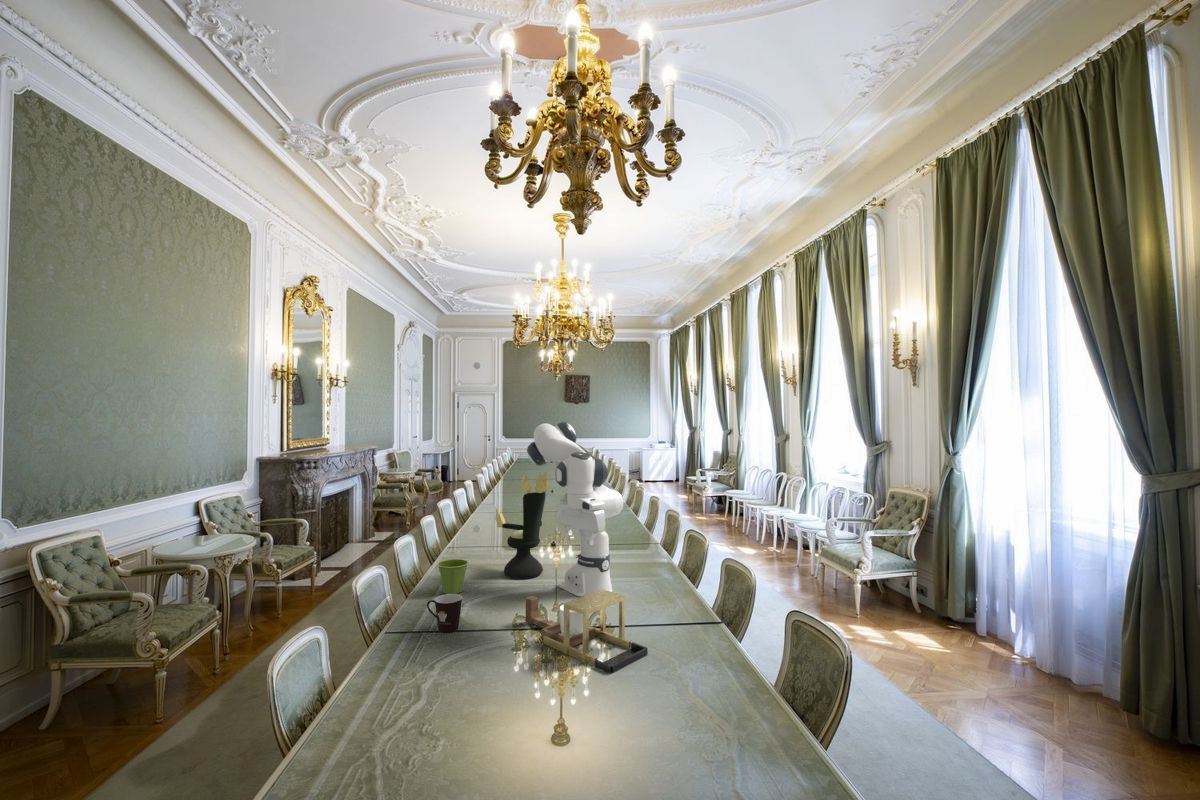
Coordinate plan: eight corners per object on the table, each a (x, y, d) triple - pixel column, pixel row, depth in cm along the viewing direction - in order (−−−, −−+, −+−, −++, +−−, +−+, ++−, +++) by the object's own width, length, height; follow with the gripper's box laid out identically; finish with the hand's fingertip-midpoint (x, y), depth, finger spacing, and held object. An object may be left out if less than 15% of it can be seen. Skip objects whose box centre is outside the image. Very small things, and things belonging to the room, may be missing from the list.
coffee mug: (467, 629, 181) (467, 598, 181) (443, 637, 175) (443, 605, 175) (447, 619, 189) (447, 590, 189) (424, 627, 183) (424, 596, 183)
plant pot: (473, 593, 215) (473, 564, 215) (442, 599, 209) (443, 569, 209) (462, 585, 225) (462, 557, 225) (432, 590, 218) (433, 561, 219)
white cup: (564, 646, 168) (565, 613, 168) (555, 636, 175) (556, 604, 175) (588, 642, 172) (588, 609, 172) (578, 632, 179) (579, 601, 179)
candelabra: (529, 564, 254) (529, 466, 254) (560, 575, 238) (561, 470, 238) (493, 573, 240) (494, 469, 241) (525, 585, 225) (525, 473, 225)
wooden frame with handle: (514, 626, 183) (514, 601, 183) (542, 616, 192) (542, 592, 192) (567, 649, 166) (567, 622, 166) (595, 636, 175) (595, 611, 175)
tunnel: (542, 644, 170) (542, 595, 170) (581, 627, 182) (581, 582, 183) (610, 674, 151) (610, 620, 151) (649, 654, 163) (649, 603, 164)
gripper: (553, 498, 193) (552, 538, 193) (595, 506, 179) (594, 549, 179) (566, 496, 198) (566, 534, 198) (608, 503, 184) (608, 545, 184)
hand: (580, 541), depth 188 cm, fingers open, 8 cm apart
